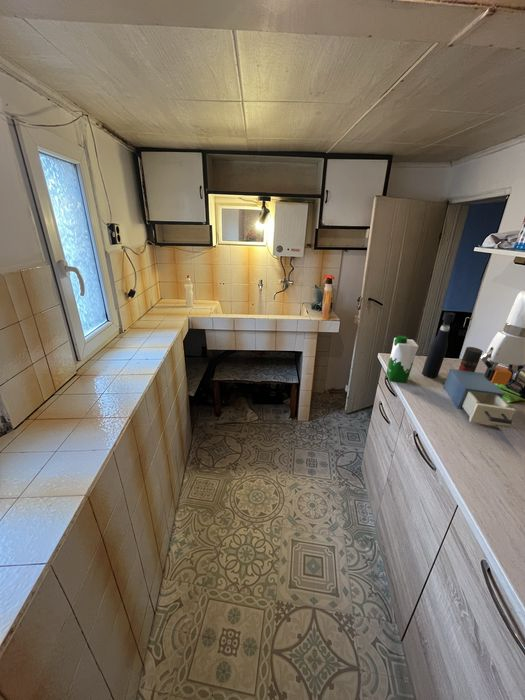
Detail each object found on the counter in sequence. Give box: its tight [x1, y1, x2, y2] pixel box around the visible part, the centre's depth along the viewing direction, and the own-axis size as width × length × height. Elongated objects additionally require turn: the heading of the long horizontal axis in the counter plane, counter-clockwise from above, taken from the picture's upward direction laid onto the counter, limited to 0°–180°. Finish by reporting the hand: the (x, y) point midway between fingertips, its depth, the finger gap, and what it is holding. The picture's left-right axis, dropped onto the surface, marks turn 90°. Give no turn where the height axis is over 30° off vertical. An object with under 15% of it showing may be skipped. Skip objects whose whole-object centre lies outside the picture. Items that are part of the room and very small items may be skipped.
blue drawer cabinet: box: [443, 368, 505, 410], centre depth 111 cm, size 16×13×9 cm
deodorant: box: [457, 346, 484, 372], centre depth 125 cm, size 6×6×15 cm
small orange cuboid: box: [490, 365, 512, 386], centre depth 95 cm, size 4×4×4 cm
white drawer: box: [461, 390, 517, 427], centre depth 100 cm, size 19×11×7 cm, turn 167°
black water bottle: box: [421, 311, 456, 379], centre depth 124 cm, size 6×6×30 cm
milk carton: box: [385, 334, 420, 384], centre depth 122 cm, size 9×9×20 cm
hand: (496, 379), depth 96 cm, fingers closed on small orange cuboid, 4 cm apart
